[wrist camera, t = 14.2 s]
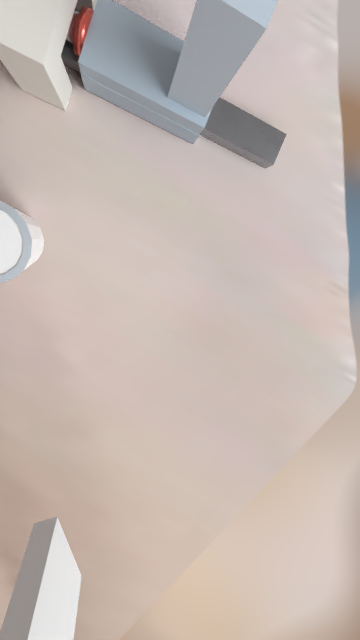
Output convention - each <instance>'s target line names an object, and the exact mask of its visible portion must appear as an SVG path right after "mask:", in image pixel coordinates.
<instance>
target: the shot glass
mask: <svg viewBox="0 0 360 640" xmlns="http://www.w3.org/2000/svg"><path fill="white" fill-rule="evenodd" d="M43 243H44V238H43V235H42V232H41V229H40V227H39V226H38V225H37V223H36V222H35V221H34V220H33V219H32V218H31V217H29V216H28V215H26V214H24V213H22V212H21V211H19V210H17V209H15V208H13V207H11V206H10V205H8V204H6V203H4V202H2V201H0V283H1V282H5V281H9V280H12V279H13V278H14V277H16V276H17V275H18V274H19V273H21V272H22V271H23V270H25V269H26V268H27V267H28V266H30V265H31V264H32V263H34V262H35V261H36V260H38V258H39V256H40V255H41V253H42V251H43Z"/></svg>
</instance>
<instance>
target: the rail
mask: <svg viewBox="0 0 360 640" xmlns="http://www.w3.org/2000/svg"><path fill="white" fill-rule="evenodd" d="M79 57H80V56H78V55H76V54H74V51H73V43H71V42H70V41H68V40H65V44H64V47H63V50H62V53H61V58H62V61H63V64H64V65H65V66H67V67H69V68H71V69H73V70H75V71H77V72H79V73H81V71H80V67H79V64H78V60H79ZM200 135H201V136H203V137H205V138H207V139H209V140H211V141H213V142H215V143H217V144H219V145H221V146H223V147H225V148H227V149H229V150H231V151H233V152H235V153H236V154H238V155H240V156H242V157H244V158H246V159H248V160H250V161H252V162H254V163H256V164H258V165H260V166H262V167H264V168H267V167H269V166H272V165H273V164H274V162H275V160H276V157H277V155H278V153H279V150H280V148H281V146H282V143H283V141H284V139H285V136H286V134H285V133H283V132H281V131H280V130H278V129H276V128H274V127H272V126H270V125H269V124H267V123H265V122H263V121H261V120H260V119H258V118H256V117H254V116H252V115H250V114H249V113H247V112H245V111H243V110H241V109H240V108H238V107H236V106H234V105H232V104H231V103H229V102H227V101H225V100H223V99H221V98H220V97H219V98H218V100H217V101H216V103H215V104H214V106H213V107H212V110H211V112H210V115H209V118H208V120H207V123H206V125H205V128H204V129H203V131H202V132H201V133H200Z"/></svg>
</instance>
